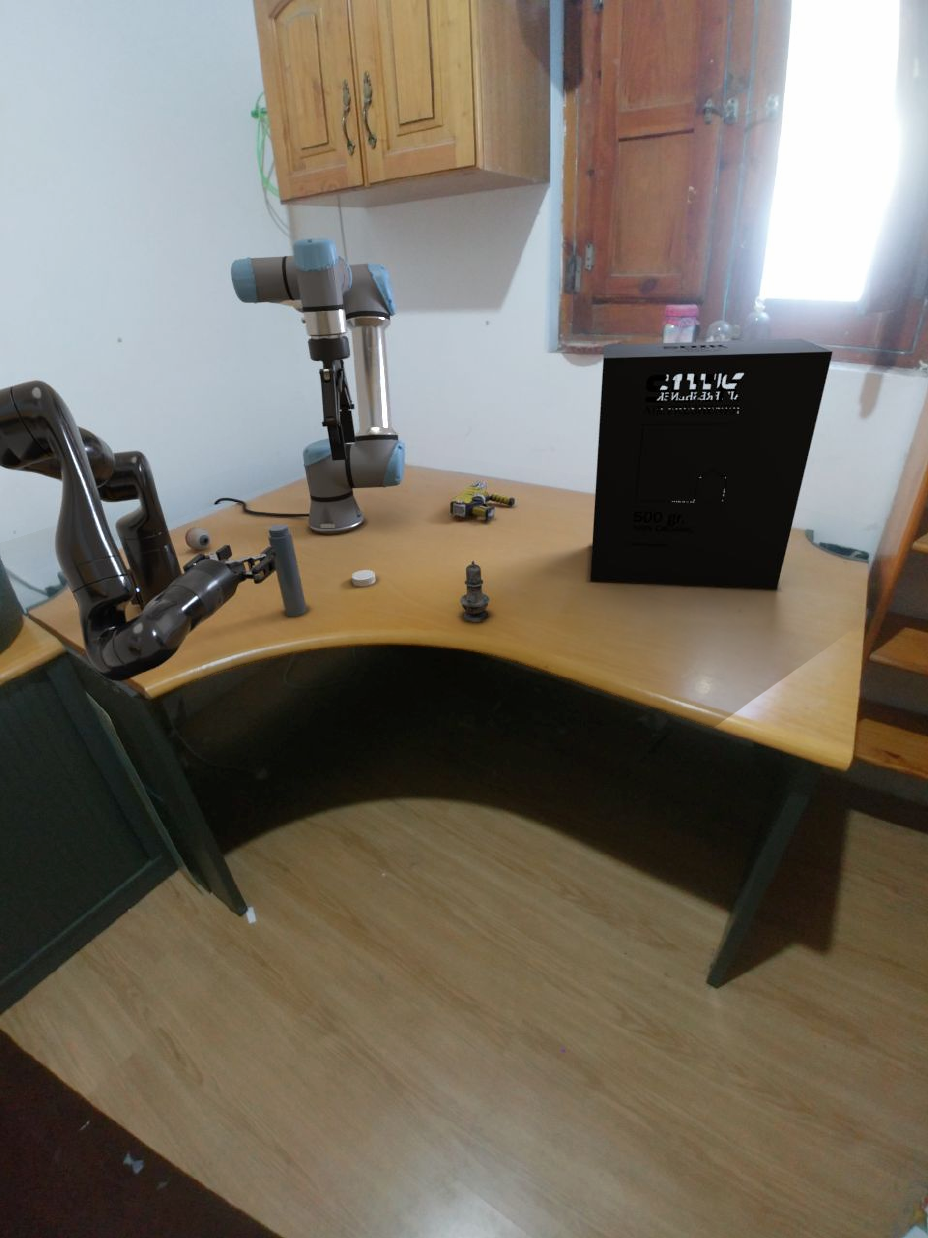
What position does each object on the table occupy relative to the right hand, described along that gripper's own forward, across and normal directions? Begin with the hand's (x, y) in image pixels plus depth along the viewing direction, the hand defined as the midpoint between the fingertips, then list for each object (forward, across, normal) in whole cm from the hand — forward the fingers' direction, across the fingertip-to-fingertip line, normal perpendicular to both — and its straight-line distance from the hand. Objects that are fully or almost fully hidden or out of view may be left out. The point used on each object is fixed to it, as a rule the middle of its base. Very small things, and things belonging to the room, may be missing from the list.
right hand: (344, 450), depth 123 cm
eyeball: (+30, -24, -46) cm, 60 cm away
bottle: (+30, +13, -13) cm, 35 cm away
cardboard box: (+30, +2, +71) cm, 77 cm away
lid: (+28, 0, 0) cm, 28 cm away
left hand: (+11, +23, -15) cm, 30 cm away
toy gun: (+30, -44, +31) cm, 61 cm away
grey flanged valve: (+30, +19, +25) cm, 43 cm away
